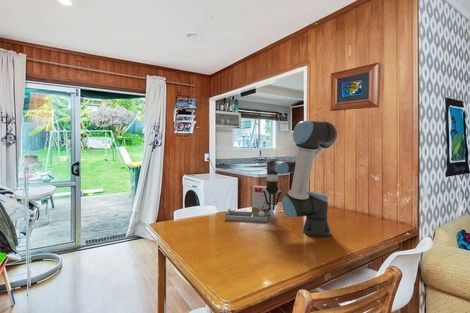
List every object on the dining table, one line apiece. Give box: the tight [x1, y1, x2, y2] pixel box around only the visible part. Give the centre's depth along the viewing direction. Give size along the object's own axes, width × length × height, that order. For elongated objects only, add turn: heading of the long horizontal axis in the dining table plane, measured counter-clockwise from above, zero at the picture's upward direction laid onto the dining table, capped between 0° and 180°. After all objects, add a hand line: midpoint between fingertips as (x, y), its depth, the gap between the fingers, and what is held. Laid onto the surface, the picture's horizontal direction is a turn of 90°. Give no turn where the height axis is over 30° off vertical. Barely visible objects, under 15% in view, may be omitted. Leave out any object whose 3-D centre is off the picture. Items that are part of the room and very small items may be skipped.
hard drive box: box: [251, 185, 273, 216], centre depth 192 cm, size 16×8×20 cm, turn 73°
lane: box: [224, 207, 269, 223], centre depth 177 cm, size 28×14×5 cm, turn 81°
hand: (271, 214), depth 175 cm, fingers closed
